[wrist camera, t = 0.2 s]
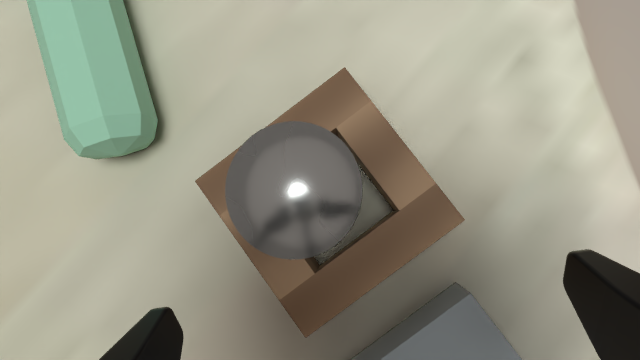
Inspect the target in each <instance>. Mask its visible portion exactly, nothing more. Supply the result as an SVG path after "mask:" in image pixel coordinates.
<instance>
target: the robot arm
mask: <svg viewBox="0 0 640 360" xmlns="http://www.w3.org/2000/svg"><path fill="white" fill-rule="evenodd" d="M563 284H564V288H565V291H566V293H567V295H568V297H569V299H570V301H571V303H572V305H573V307H574V309H575V311H576V313H577V315H578V317H579V319H580V321H581V323H582V325H583V327H584V329H585V331H586V333H587V335H588V337H589V339H590V341H591V342H592V344H593V346H594V348H595V350H596V352H597V354H598V356H599V357H600V359H601V360H640V273H637V272H635V271H633V270H631V269H629V268H627V267H625V266H623V265H621V264H619V263H617V262H615V261H613V260H611V259H609V258H607V257H605V256H603V255H601V254H599V253H597V252H595V251H592V250H587V249H586V250H579V251H572V252H570V253H569V254H568V255H567V259H566V265H565V271H564V277H563ZM182 345H183V331H182V328H181V326H180V324H179V322H178V320H177V318H176V316H175V314H174V312H173V311H172V309H171V308H169V307H162V308H155V309H152V310H150V311H149V312H148V313H147V314H146V315H145V316H144V317H143V318H142V319H141V320H140V321H139V322H138V323H137V324H136V325H134V326H133V327H132V328H131V329H130V330H129V331H128V332H127V333H126V334H125V335H124V336H123V337H122V338H121V339H120V340H119V341H118V342H117V343H116V344H115V345H114V346H113V347H112V348H111V349H110V350H109V351H107V352H106V353H105V354H104V355H103V356H102V357H101V358H100V359H99V360H180V359H181V352H182Z"/></svg>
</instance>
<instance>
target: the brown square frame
mask: <svg viewBox="0 0 640 360" xmlns="http://www.w3.org/2000/svg"><path fill="white" fill-rule="evenodd" d="M288 121H301V122H307V123H312V124H315V125H318V126H321V127H323V128H325V129H327V130H329V131H330V132H332V133H333V134H335V135H336V136H337V137H338V138H339V139H341V140H342V141H343V142H344V143H345V145H346V146H347V147H348V148H349V150H350V151H351V153H352V154H353V156H354V158H355V160H356V161H357V163H358V164H359V165H360V167H361V168H362V169H363V171H364V172H365V173H366V175H367V176H368V177H369V178H370V180H371V181H372V182H373V184H374V185H375V186H376V188H377V189H378V190H379V192H380V193H381V194H382V195H383V197H384V198H385V199H386V201H387V202H388V203H389V205H390V206H391V207H392V209H393V210H394V211H393V212H391V213H390V214H388V215H387V216H386V217H384V218H383V219H382V220H380V221H379V222H378V223H376V224H375V225H374V226H372V227H371V228H370V229H368V230H367V231H366V232H364V233H363V234H362V235H360V236H359V237H358V238H356V239H355V240H354V241H352V242H351V243H350V244H348V245H347V246H346V247H344V248H343V249H342V250H340V251H339V252H338V253H336V254H335V255H334V256H332V257H331V258H329V259H328V260H327V261H325V262H324V263H323V264H321V265H319V264H318V262H317V261H316V259H315V258H314V257H310V258H305V259H295V260H290V259H281V258H277V257H273V256H270V255H267V254H265V253H263V252H261V251H259V250H257V249H256V248H255V247H253V246H252V245H250V244H249V243H248V242H247V241H246V240H245V239H244V238H243V237H242V236H241V234H240V233H239V232H238V231H237V229H236V227H235V226H234V224H233V222H232V220H231V218H230V215H229V212H228V209H227V205H226V198H225V185H226V177H227V173H228V170H229V167H230V164H231V162H232V160H233V158H234V156H235V154H236V153H237V151H238V150H239V148H240V147H241V146H240V147H239V148H238V149H236V150H235V151H234V152H232V153H231V154H230V155H229V156H227V157H226V158H225V159H223V160H222V161H221V162H219V163H218V164H217V165H215V166H214V167H213V168H211V169H210V170H209V171H208V172H206V173H205V174H204V175H202V176H201V177H200V178H198V179H197V180H196V181H195V182H196V183H197V185H198V186H199V187H200V189H201V190H202V192H203V193H204V195H205V196H206V197H207V199H208V200H209V202H210V203H211V204H212V206H213V207H214V209H215V210H216V212H217V213H218V214H219V216H220V217H221V219H222V220H223V222H224V223H225V224H226V226H227V227H228V229H229V230H230V231H231V233H232V234H233V236H234V237H235V239H236V240H237V241H238V243H239V244H240V246H241V247H242V248H243V250H244V251H245V253H246V254H247V256H248V257H249V258H250V260H251V261H252V263H253V264H254V266H255V267H256V268H257V270H258V271H259V273H260V274H261V275H262V277H263V278H264V280H265V281H266V283H267V284H268V285H269V287H270V288H271V290H272V291H273V293H274V294H275V295H276V297H277V298H278V300H279V301H280V302H281V304H282V305H283V307H284V308H285V310H286V311H287V312H288V314H289V315H290V317H291V318H292V319H293V321H294V322H295V324H296V325H297V327H298V328H299V329H300V331H301V332H302V334H303V335H304V337H305V338H306V337H308V336H309V335H310V334H312V333H313V332H314V331H316V330H317V329H318V328H320V327H321V326H322V325H324V324H325V323H327V322H328V321H329V320H331V319H332V318H333V317H335V316H336V315H337V314H339V313H340V312H341V311H343V310H344V309H345V308H347V307H348V306H349V305H351V304H352V303H354V302H355V301H356V300H358V299H359V298H360V297H362V296H363V295H364V294H366V293H367V292H368V291H370V290H371V289H372V288H374V287H375V286H376V285H378V284H379V283H381V282H382V281H383V280H385V279H386V278H387V277H389V276H390V275H391V274H393V273H394V272H395V271H397V270H398V269H399V268H401V267H402V266H403V265H405V264H406V263H408V262H409V261H410V260H412V259H413V258H414V257H416V256H417V255H418V254H420V253H421V252H422V251H424V250H425V249H426V248H428V247H429V246H431V245H432V244H433V243H435V242H436V241H437V240H439V239H440V238H441V237H443V236H444V235H445V234H447V233H448V232H449V231H451V230H452V229H453V228H455V227H456V226H458V225H459V224H460V223H462V222H463V221H464V220H465V219H464V218H463V217H462V216H461V214H460V213H459V212H458V211H457V209H456V208H455V207H454V205H453V204H452V203H451V202H450V200H449V199H448V198H447V197H446V195H445V194H444V193H443V191H442V190H441V189H440V188H439V186H438V185H437V184H436V183H435V181H434V180H433V179H432V178H431V176H430V175H429V174H428V172H427V171H426V170H425V169H424V167H423V166H422V165H421V164H420V162H419V161H418V160H417V158H416V157H415V156H414V155H413V153H412V152H411V151H410V150H409V148H408V147H407V146H406V145H405V143H404V142H403V141H402V139H401V138H400V137H399V136H398V134H397V133H396V132H395V131H394V129H393V128H392V127H391V125H390V124H389V123H388V122H387V120H386V119H385V118H384V117H383V115H382V114H381V113H380V111H379V110H378V109H377V108H376V106H375V105H374V104H373V103H372V101H371V100H370V99H369V98H368V96H367V95H366V94H365V92H364V91H363V90H362V89H361V87H360V86H359V85H358V84H357V82H356V81H355V80H354V78H353V77H352V76H351V75H350V73H349V72H348V71H347V70H346V68H345V67H344V68H343V69H342V70H340V71H339V72H338V73H336V74H335V75H334V76H332V77H331V78H330V79H329V80H327V81H326V82H325V83H323V84H322V85H321V86H319V87H318V88H317V89H315V90H314V91H313V92H311V93H310V94H309V95H307V96H306V97H305V98H304V99H302V100H301V101H300V102H298V103H297V104H296V105H294V106H293V107H292V108H290V109H289V110H288V111H286V112H285V113H284V114H282V115H281V116H280V117H279V118H277V119H276V120H275V121H273V122H272V123H271V124H269V125H268V126H271V125H274V124H276V123H281V122H288ZM268 126H267V127H268ZM265 128H266V127H265Z"/></svg>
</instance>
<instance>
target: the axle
mask: <svg viewBox="0 0 640 360" xmlns="http://www.w3.org/2000/svg"><path fill="white" fill-rule="evenodd" d="M225 198H226V205H227V209H228V212H229V215H230V218H231V220H232V222H233V224H234V226H235V227H236V229H237V231H238V232H239V233H240V234H241V236H242V237H243V238H244V239H245V240H246V241H247V242H248V243H249V244H250V245H252V246H253V247H255V248H256V249H257V250H259V251H261V252H263V253H265V254H267V255H270V256H273V257H277V258H281V259H290V260H295V259H305V258H310V257H313V256H316V255H319V254H321V253H323V252H325V251H327V250H329V249H330V248H332V247H333V246H335V245H336V244H337V243H338V242H339V241H341V240H342V239H343V237H344V236H345V235H346V234H347V233H348V232H349V230H350V229H351V227H352V226H353V224H354V222H355V220H356V218H357V215H358V212H359V210H360V205H361V201H362V179H361V174H360V170H359V167H358V164H357V162H356V160H355V158H354V156H353V154H352V153H351V151H350V150H349V148H348V147H347V146H346V145H345V143H344V142H343V141H342V140H341V139H339V138H338V137H337V136H336V135H335V134H333V133H332V132H330V131H329V130H327V129H325V128H323V127H321V126H318V125H315V124H312V123H307V122H301V121H288V122H281V123H276V124H274V125H271V126H268V127H266V128H264V129H262V130H260V131H258V132H257V133H255V134H254V135H252V136H251V137H250V138H249V139H248V140H247V141H246V142H245V143H244V144H243V145H242V146H241V147H240V148H239V150H238V151H237V153H236V154H235V156H234V158H233V160H232V162H231V164H230V167H229V170H228V173H227V177H226V185H225Z"/></svg>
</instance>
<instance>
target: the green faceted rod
mask: <svg viewBox="0 0 640 360" xmlns="http://www.w3.org/2000/svg"><path fill="white" fill-rule="evenodd" d="M27 3H28V7H29V11H30V14H31V18H32V22H33V25H34V29H35V33H36V37H37V40H38V44H39V48H40V51H41V55H42V59H43V63H44V66H45V70H46V74H47V77H48V81H49V85H50V89H51V92H52V96H53V100H54V103H55V107H56V111H57V115H58V118H59V122H60V126H61V129H62V133H63V137H64V140H65V141H66V142H67V143H68V145H69V146H70V147H71V148H72V149H73V150H74V151H75V152H76V153H77V155H78V156H81V157H87V158H93V159H102V158H110V157H118V156H124V155H127V154H130V153H133V152H136V151H139V150H142V149H145V148H147V147H148V146H149V145H150V144H151V143H152V141H153V140H154V138H155V133H156V128H157V122H158V119H157V116H156V112H155V109H154V105H153V102H152V99H151V95H150V92H149V88H148V85H147V81H146V78H145V74H144V71H143V68H142V64H141V61H140V57H139V54H138V50H137V47H136V43H135V40H134V37H133V33H132V30H131V26H130V23H129V19H128V16H127V12H126V9H125V6H124V2H123V0H27Z"/></svg>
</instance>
